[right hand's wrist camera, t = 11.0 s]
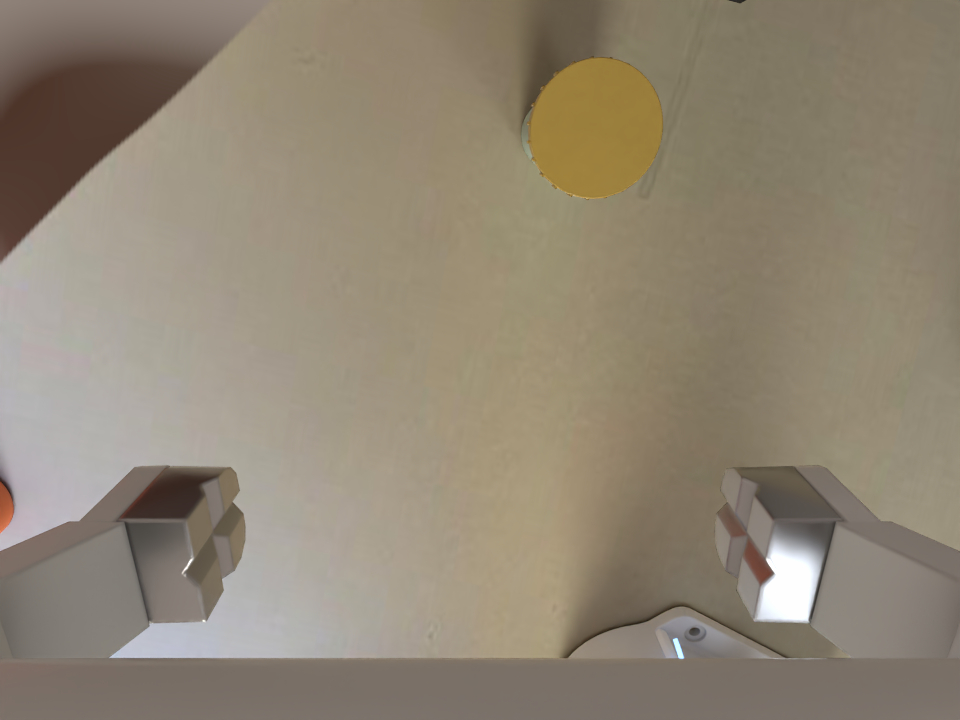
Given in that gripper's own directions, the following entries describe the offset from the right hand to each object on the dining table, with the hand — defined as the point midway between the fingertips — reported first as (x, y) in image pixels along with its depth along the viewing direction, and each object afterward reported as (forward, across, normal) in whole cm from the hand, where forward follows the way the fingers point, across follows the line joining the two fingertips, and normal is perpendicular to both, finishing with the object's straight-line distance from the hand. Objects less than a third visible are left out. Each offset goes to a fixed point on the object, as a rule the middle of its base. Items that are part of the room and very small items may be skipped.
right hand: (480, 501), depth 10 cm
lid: (+16, +4, +6) cm, 18 cm away
